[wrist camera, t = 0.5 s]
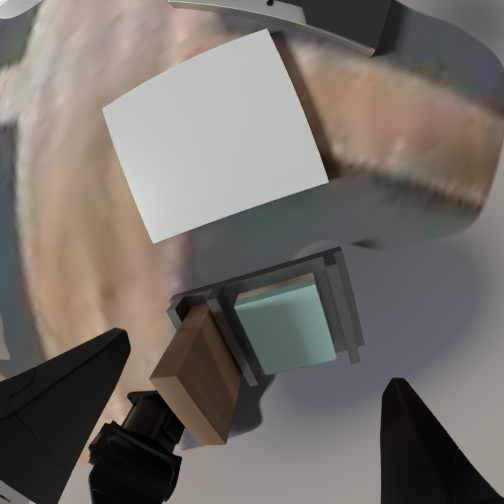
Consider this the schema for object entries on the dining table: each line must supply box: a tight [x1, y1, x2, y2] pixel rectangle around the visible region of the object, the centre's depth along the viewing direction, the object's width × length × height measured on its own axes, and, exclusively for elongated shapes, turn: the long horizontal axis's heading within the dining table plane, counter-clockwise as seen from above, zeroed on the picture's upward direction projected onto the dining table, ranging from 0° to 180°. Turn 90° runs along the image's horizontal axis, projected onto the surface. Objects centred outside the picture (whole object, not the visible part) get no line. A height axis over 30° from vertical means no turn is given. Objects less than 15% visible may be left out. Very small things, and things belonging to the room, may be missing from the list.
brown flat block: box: [149, 303, 243, 445], centre depth 20 cm, size 2×7×9 cm, turn 21°
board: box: [102, 29, 329, 244], centre depth 20 cm, size 14×12×1 cm
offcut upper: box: [234, 278, 337, 375], centre depth 22 cm, size 6×7×1 cm
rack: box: [166, 247, 364, 386], centre depth 23 cm, size 14×9×3 cm, turn 111°
